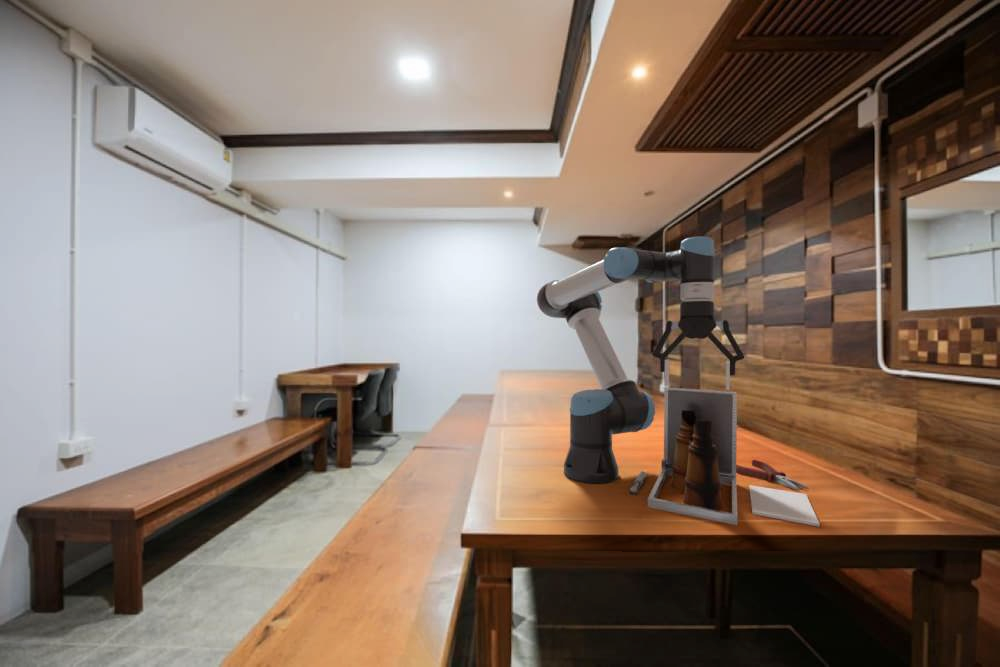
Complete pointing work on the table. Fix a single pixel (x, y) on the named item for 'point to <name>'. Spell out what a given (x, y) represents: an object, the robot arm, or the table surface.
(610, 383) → the robot arm
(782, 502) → the mat
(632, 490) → the rod
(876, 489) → the table surface
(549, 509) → the table surface
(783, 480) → the pliers
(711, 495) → the binoculars
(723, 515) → the case
